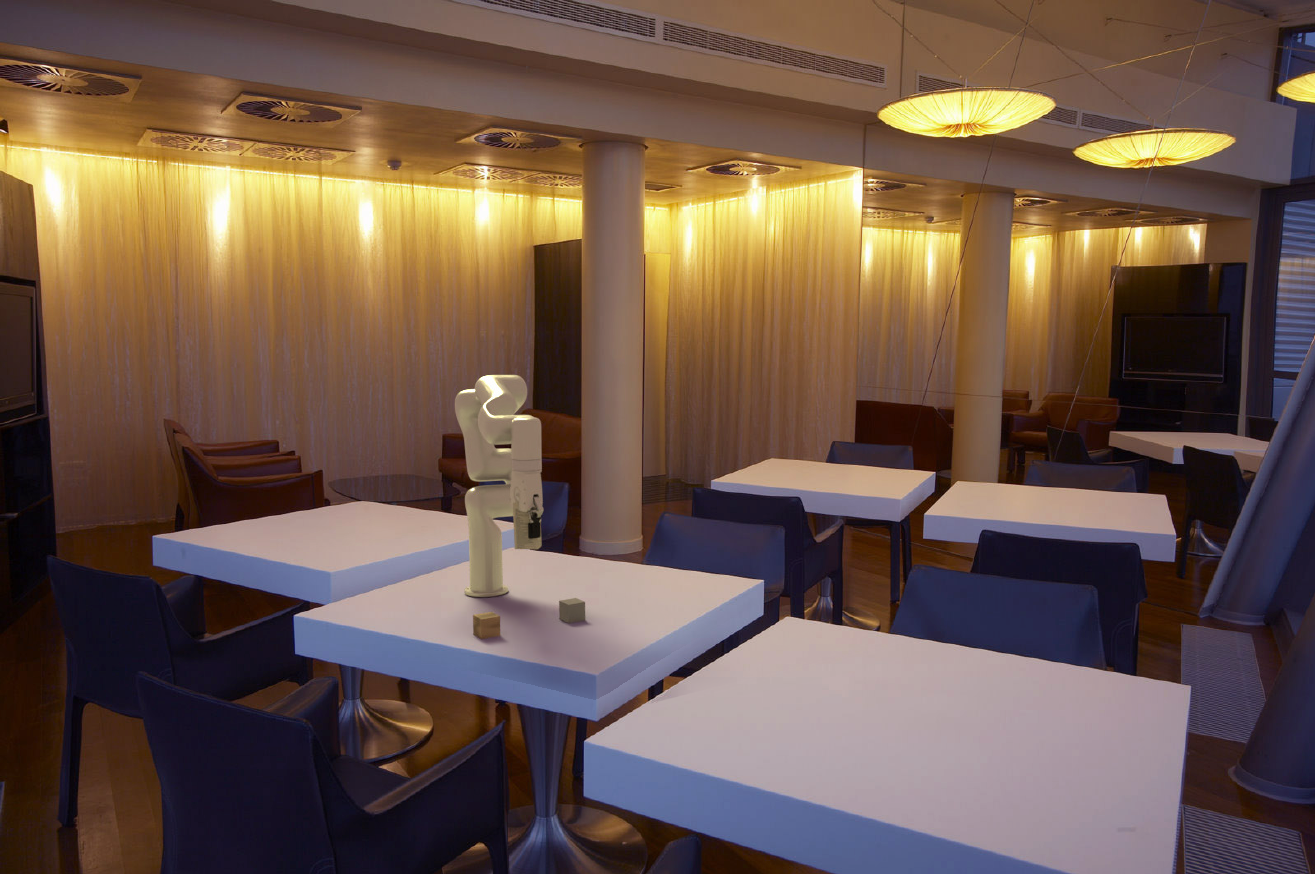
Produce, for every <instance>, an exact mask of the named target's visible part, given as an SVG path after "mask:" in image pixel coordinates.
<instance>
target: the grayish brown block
mask: <svg viewBox="0 0 1315 874" xmlns="http://www.w3.org/2000/svg"><path fill="white" fill-rule="evenodd" d="M558 611H559V613H558V614H559V616H558V617H559V620H561V621H562V622H565V623H567V624H572V623H578V622H579V623H580V622H584V621H586V601H584V600H581V599H579V598H576V597H574V598H573V597H572V598H567V599H561V600H559V601H558Z"/></svg>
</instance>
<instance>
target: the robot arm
mask: <svg viewBox="0 0 1315 874" xmlns="http://www.w3.org/2000/svg"><path fill="white" fill-rule="evenodd" d="M527 396H528V387H527V383H526V381H525V380H524V378H522V376H520V375H516V374H490V375H485V376H482V377H480V378H479V379H477V381H476V383H475V385H474V388H470V389H464V390H462V391H459V392H458V393H457V394H456V396H455V399H454V413H455V415H456V419H457V422H458V425H459V427H460V429H461V432H462V436H463V440H464V450H465V451H464V452H465V462H466V470H467V474H468V477H469V479H470V480H471V481H473V482H496V481H497V482H498V481H503V482H504V484H491V485H490V484H489V485H478V486H473V487H471V488H470V489H468V490H467V491H466V493H465V495H464V505H465V510H466V515H467V522H468V523H467V525H468V546H469V547H468V551H469V552H468V553H469V554H468V555H469V556H468V557H469V560H468V561H469V586H467V587H465V589H464V594H465V595H466V596H470V597H474V598H475V597H476V598H488V597H489V598H491V597H497V596H501V595H505V594H506V593H508V592H509V587H508V585H506V584H504V581H503V580H504V579H503V573H504V572H503V535H502V530H501V528H500V526H498V525H497V523H496V522H495V521H494V519H496V518H505V517H513V502H518V510H519V511H520V512H524V513H526V512H527V513H528V517H529V522H530V523H528V538H529V539H533V538H540V537H541V538H542V528H541V529H540V522H541V523H542V516H543V513H544V507H543V503H544V502H543V501H544V500H543V484H542V483H543V482H542V474H541V473H542V471H543V470H542V469H543V468H542V467H543V465H542V463H543V461H542V421H541V420H540V419H539V418H538V417H534V416H532V415H531V414H516V412H518V411H519V409H520V408H521V407H522V406H523V405H524V403H525V402H526V400H527V398H528V397H527ZM497 445H499V446H500V445H511V448H496V447H495V446H497ZM534 507H536V510H531V509H533V508H534ZM533 513H534V515H533V517H532V514H533Z"/></svg>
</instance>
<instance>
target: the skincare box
mask: <svg viewBox="0 0 1315 874" xmlns="http://www.w3.org/2000/svg"><path fill="white" fill-rule="evenodd" d="M531 510H536V507H534V508H533V509H531ZM533 515H534V513H533V514H532V517H533ZM512 518H513V540H514V550H539V549H540V548H541V547H542V545H543V544H542V536H541V537H540V538H533V539H529V538H528V523H530V522H529V517H528V513H527V512H526V513H524V512H520V511H519V510H518V502H513V516H512ZM540 529H541V530H542V521H541V522H540Z"/></svg>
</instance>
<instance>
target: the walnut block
mask: <svg viewBox="0 0 1315 874" xmlns="http://www.w3.org/2000/svg"><path fill="white" fill-rule="evenodd" d="M472 624H473V625H472V627H473V631H472V632H473V633H472V634H473V635H474V636H475V637H478V639H481V640H486V639H489V637H491V638H494V637H495V638H497V637H500V636H501V616H500V615H499V614H497V613H495V612H494V611H488V612H482V613H477V614H475V613H474V614H473V615H472Z"/></svg>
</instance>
